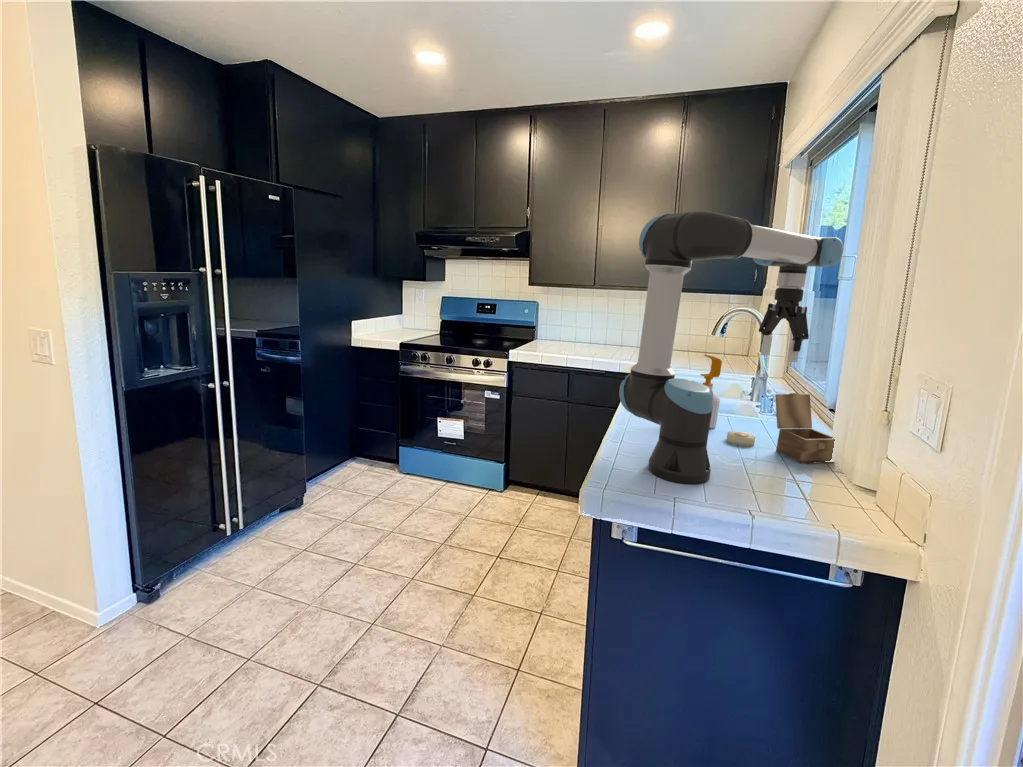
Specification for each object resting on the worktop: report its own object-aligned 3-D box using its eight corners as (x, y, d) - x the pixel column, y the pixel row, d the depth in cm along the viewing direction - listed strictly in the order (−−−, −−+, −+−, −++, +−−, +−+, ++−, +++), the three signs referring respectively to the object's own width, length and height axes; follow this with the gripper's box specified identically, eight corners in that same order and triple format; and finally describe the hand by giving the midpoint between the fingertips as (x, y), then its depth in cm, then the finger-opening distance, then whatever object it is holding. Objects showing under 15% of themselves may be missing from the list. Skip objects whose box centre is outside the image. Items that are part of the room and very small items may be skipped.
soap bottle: (682, 422, 175) (691, 353, 170) (702, 420, 179) (712, 352, 174) (701, 429, 167) (711, 357, 162) (721, 428, 171) (732, 357, 165)
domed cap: (736, 446, 152) (738, 438, 151) (721, 438, 159) (722, 430, 159) (759, 446, 153) (761, 438, 153) (743, 438, 161) (744, 430, 160)
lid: (778, 393, 148) (775, 393, 149) (780, 428, 147) (777, 428, 149) (810, 393, 151) (807, 393, 152) (813, 428, 150) (809, 428, 151)
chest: (801, 463, 140) (806, 440, 138) (775, 451, 149) (779, 428, 148) (834, 462, 142) (839, 439, 140) (807, 450, 152) (811, 428, 150)
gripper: (832, 290, 141) (817, 365, 146) (773, 287, 164) (762, 352, 169) (809, 288, 140) (795, 365, 144) (753, 286, 162) (743, 352, 167)
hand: (778, 358), depth 157 cm, fingers open, 11 cm apart
